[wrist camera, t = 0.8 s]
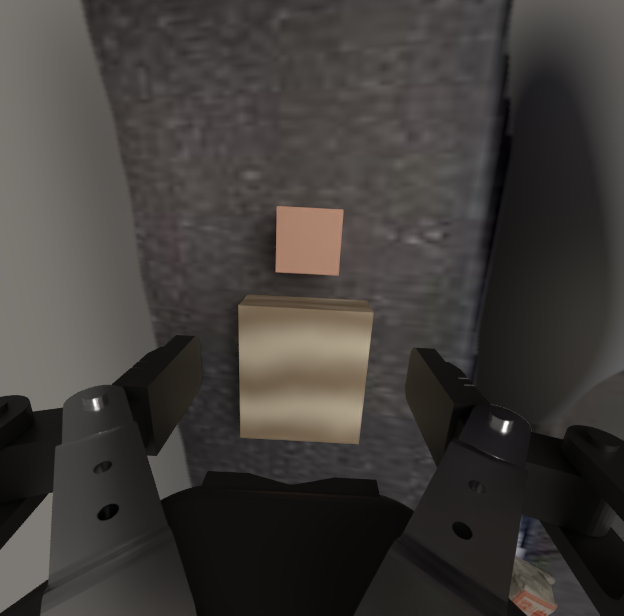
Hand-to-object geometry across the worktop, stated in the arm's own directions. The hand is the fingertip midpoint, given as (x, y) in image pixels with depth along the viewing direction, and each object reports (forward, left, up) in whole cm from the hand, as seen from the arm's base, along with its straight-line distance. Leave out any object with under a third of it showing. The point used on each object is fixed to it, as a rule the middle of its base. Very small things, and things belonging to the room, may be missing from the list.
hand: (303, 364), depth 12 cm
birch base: (+10, 0, -20) cm, 22 cm away
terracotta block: (-3, 0, -20) cm, 20 cm away
